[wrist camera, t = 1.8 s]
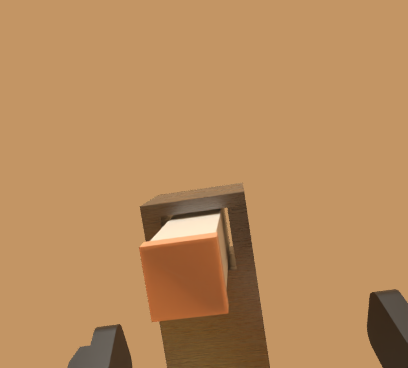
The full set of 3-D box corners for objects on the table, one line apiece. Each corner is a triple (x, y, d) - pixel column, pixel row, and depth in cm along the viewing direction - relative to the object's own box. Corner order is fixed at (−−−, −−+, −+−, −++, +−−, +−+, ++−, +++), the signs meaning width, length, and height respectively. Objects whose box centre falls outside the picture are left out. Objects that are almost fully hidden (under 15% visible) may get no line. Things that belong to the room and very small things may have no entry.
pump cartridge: (151, 322, 21) (138, 247, 21) (186, 250, 36) (179, 205, 36) (228, 313, 21) (216, 236, 21) (231, 244, 36) (224, 199, 36)
